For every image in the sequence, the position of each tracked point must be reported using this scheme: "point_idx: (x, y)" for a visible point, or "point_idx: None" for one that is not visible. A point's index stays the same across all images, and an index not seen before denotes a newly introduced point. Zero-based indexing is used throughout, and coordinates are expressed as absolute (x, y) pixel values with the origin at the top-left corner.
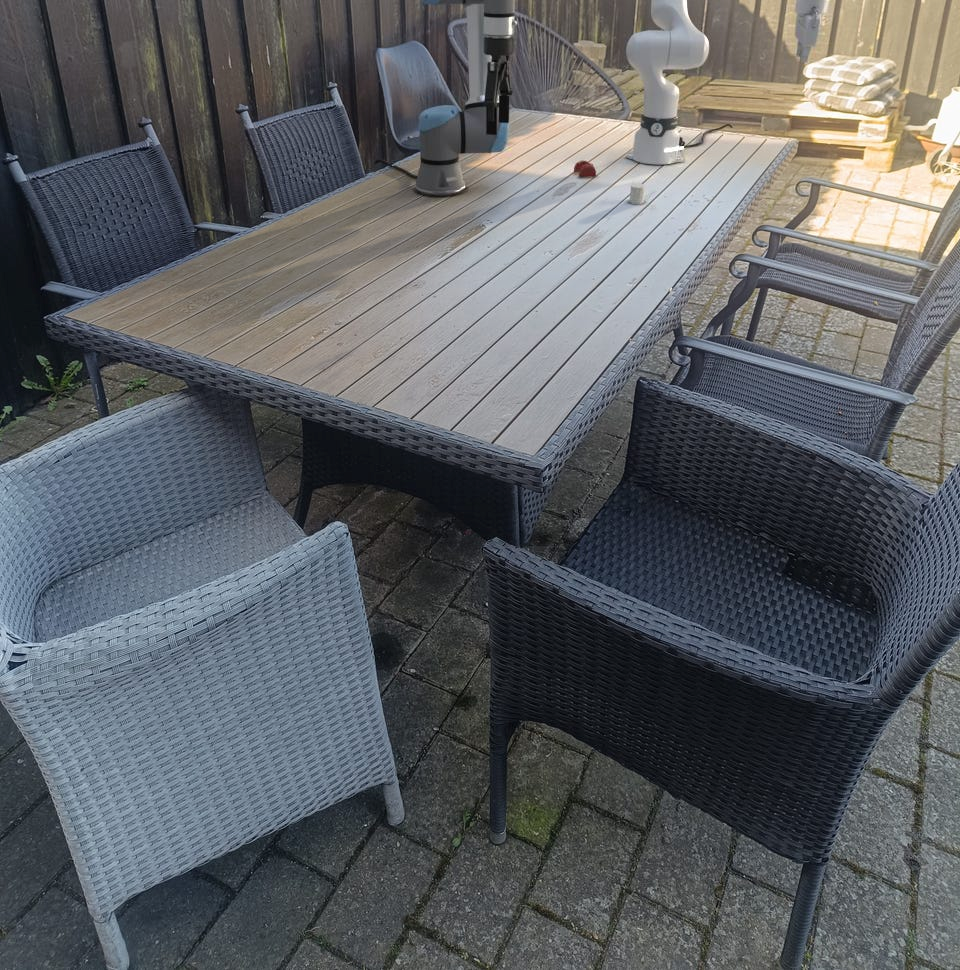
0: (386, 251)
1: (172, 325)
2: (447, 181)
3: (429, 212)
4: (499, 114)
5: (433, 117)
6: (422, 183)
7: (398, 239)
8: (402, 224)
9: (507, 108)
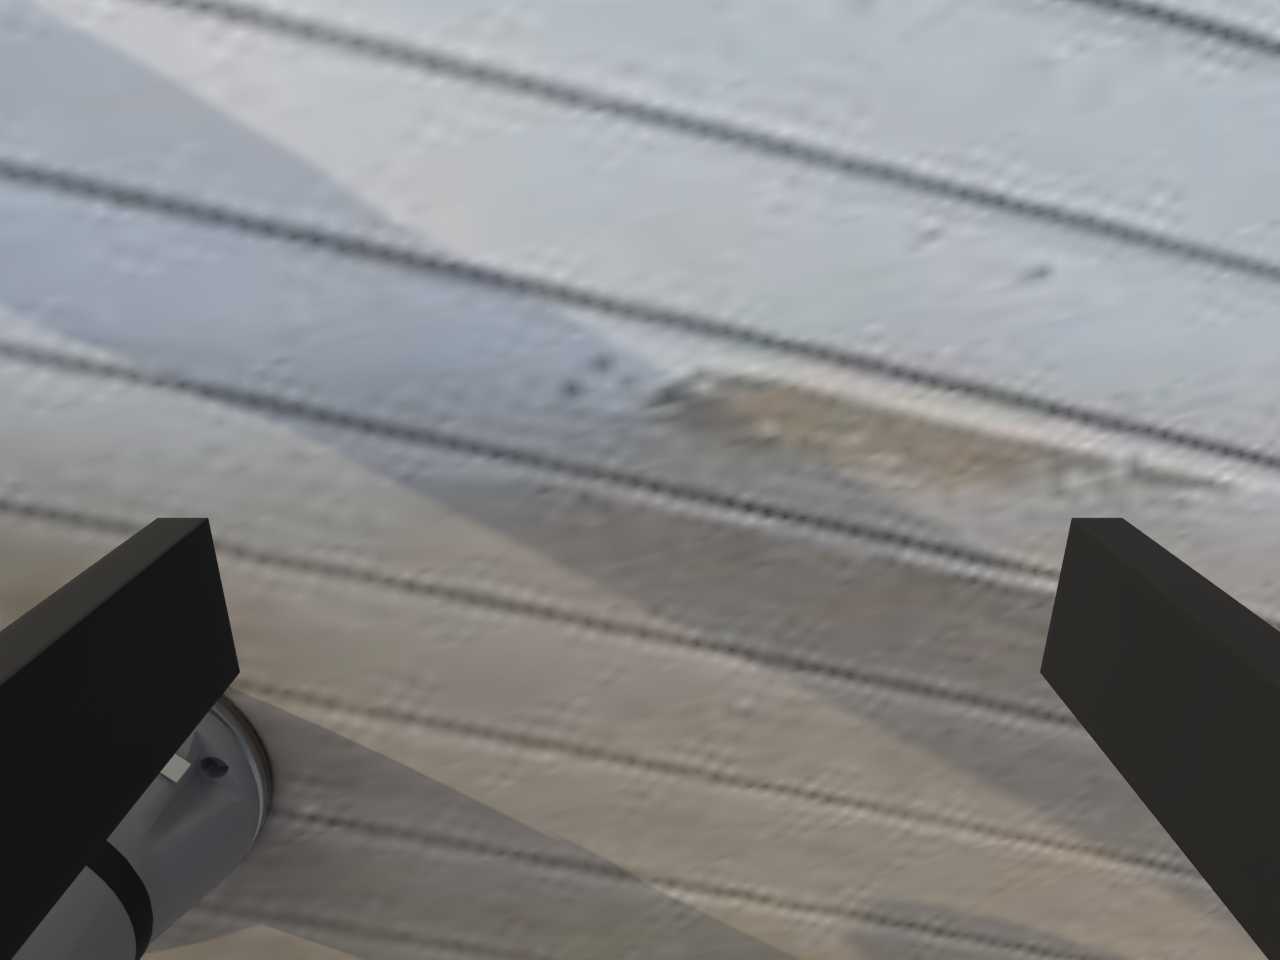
0: None
1: None
2: (184, 761)
3: (528, 718)
4: (167, 744)
5: None
6: (229, 867)
7: (961, 737)
8: (744, 780)
9: (53, 679)
